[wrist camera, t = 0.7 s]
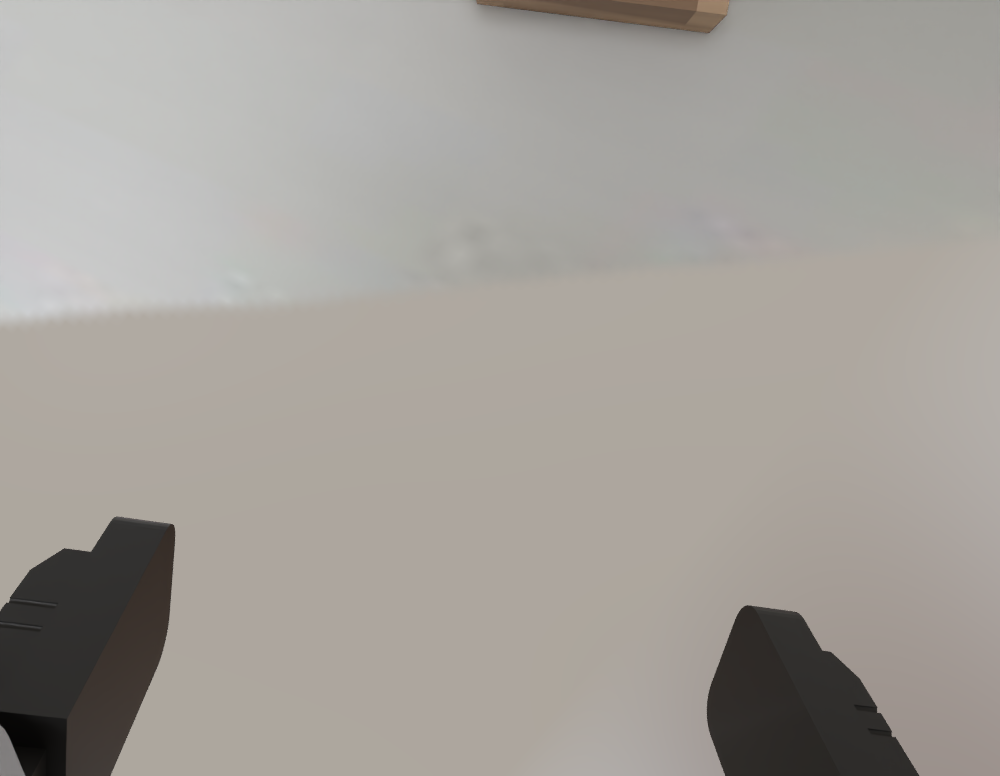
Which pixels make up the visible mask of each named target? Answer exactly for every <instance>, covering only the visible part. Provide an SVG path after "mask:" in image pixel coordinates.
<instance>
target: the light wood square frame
mask: <svg viewBox="0 0 1000 776" xmlns="http://www.w3.org/2000/svg"><path fill="white" fill-rule="evenodd" d="M476 1H477V4H484V5H491V6H499V7H507V8H515V9H523V10H531V11H539V12H547V13H555V14H563V15H570V16H578V17H586V18H594V19H602V20H610V21H618V22H626V23H634V24H641V25H649V26H657V27H665V28H673V29H681V30H689V31H697V32H705V33H709V32H710V31H711V30H712V29H713V28H714V27H715V26H716V25H717V24H718V23H719V22H720V21H721V20H722V19H723V18H724V17H725V16H726V15H727V10H728V5H729V0H476Z"/></svg>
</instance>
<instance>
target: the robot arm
mask: <svg viewBox="0 0 1000 776" xmlns="http://www.w3.org/2000/svg"><path fill="white" fill-rule="evenodd" d="M174 546H175V528H174V525H173V524H167V523H160V522H153V521H145V520H138V519H131V518H124V517H114V518H113V519H112V521H111V522H110V523H109V525H108V527H107V528H106V530H105V531H104V533H103V534H102V536H101V537H100V539H99V540H98V542H97V544H96V545H95V547H94V548H93V550H92V551H91V552H87V551H80V550H72V549H65V548H64V549H63V550H61V551H59V552H58V553H56V554H55V555H53V556H52V557H50V558H48V559H47V560H45V561H44V562H42V563H40V564H39V565H37V566H36V567H34V568H32V569H31V570H30V571H29V572H28V574H27V575H26V576H25V578H24V579H23V581H22V582H21V583H20V585H19V586H18V587H17V589H16V590H15V592H14V593H13V594H12V596H11V597H10V601H9V603H6V604H5V605H4V607H3V608H2V609H1V611H0V776H110V775H111V773H112V770H113V768H114V766H115V764H116V761H117V759H118V756H119V754H120V752H121V750H122V747H123V745H124V743H125V741H126V738H127V736H128V734H129V731H130V729H131V727H132V724H133V722H134V720H135V717H136V715H137V713H138V710H139V708H140V706H141V703H142V701H143V699H144V697H145V694H146V692H147V690H148V687H149V685H150V683H151V680H152V678H153V676H154V673H155V671H156V669H157V666H158V664H159V661H160V658H161V655H162V651H163V647H164V644H165V640H166V635H167V630H168V623H169V614H170V601H171V587H172V574H173V561H174V560H173V559H174ZM707 721H708V727H709V731H710V735H711V738H712V740H713V743H714V746H715V749H716V751H717V754H718V757H719V760H720V762H721V765H722V768H723V771H724V773H725V776H919V775H918V773H917V771H916V770H915V768H914V766H913V765H912V763H911V762H910V760H909V758H908V757H907V755H906V753H905V752H904V750H903V749H902V747H901V745H900V744H899V742H898V740H897V739H896V737H892V736H891V732H892V731H891V729H890V727H889V726H888V724H887V723H886V721H885V719H884V718H883V716H882V714H881V713H877V706H876V705H875V703H874V702H873V700H872V698H871V696H870V695H869V693H868V692H867V690H866V689H865V687H864V685H863V683H862V682H861V680H860V679H859V678H858V677H857V676H856V675H855V674H854V673H853V672H852V671H851V670H850V669H849V668H847V667H846V666H845V665H844V664H843V663H842V662H841V661H840V660H839V659H838V658H837V657H836V656H835V655H834V654H832V653H831V652H828V651H822V650H821V648H820V646H819V644H818V643H817V641H816V639H815V638H814V636H813V635H812V632H811V631H810V629H809V628H808V626H807V624H806V622H805V620H804V619H803V617H802V616H801V615H800V614H799V613H797V612H792V611H785V610H777V609H770V608H763V607H755V606H748V605H747V606H744V607H743V608H742V609H741V610H740V611H739V613H738V615H737V617H736V619H735V622H734V625H733V627H732V630H731V633H730V635H729V638H728V641H727V644H726V646H725V649H724V651H723V654H722V657H721V659H720V662H719V665H718V667H717V670H716V673H715V676H714V678H713V681H712V684H711V687H710V690H709V694H708V701H707Z"/></svg>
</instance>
